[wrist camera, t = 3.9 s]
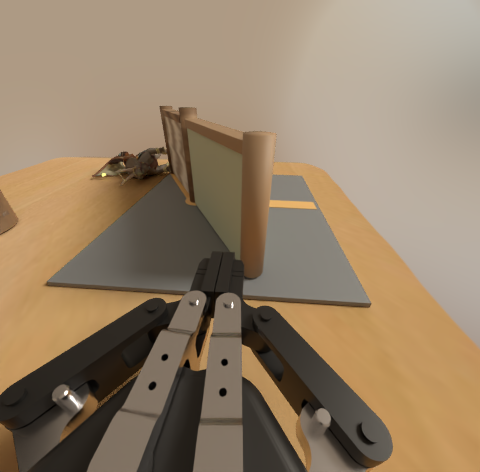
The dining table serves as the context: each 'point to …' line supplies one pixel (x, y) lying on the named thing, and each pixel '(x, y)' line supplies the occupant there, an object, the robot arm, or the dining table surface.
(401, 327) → the dining table surface
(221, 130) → the fence gate
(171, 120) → the post
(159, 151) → the figurine
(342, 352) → the dining table surface
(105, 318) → the dining table surface
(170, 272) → the card
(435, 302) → the dining table surface
